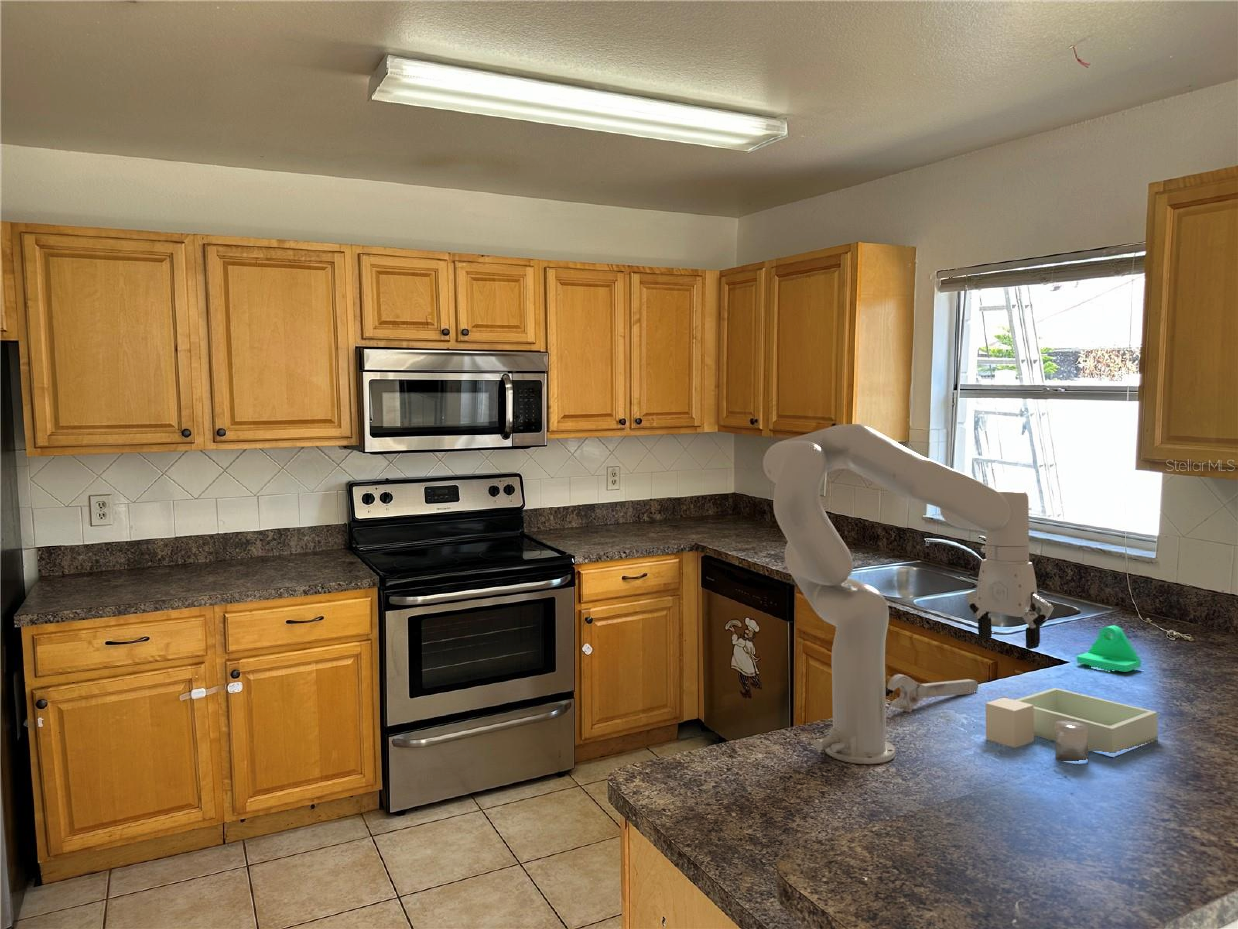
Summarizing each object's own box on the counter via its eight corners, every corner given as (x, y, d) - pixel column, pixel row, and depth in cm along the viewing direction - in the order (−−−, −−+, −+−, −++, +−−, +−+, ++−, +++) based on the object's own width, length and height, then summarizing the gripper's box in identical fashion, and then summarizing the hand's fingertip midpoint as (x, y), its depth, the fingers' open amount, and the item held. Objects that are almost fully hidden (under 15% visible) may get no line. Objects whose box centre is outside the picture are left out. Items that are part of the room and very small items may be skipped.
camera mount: (1075, 666, 213) (1074, 626, 212) (1090, 661, 217) (1090, 621, 217) (1126, 676, 203) (1125, 634, 203) (1140, 671, 207) (1140, 629, 207)
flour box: (1015, 748, 157) (1014, 711, 157) (986, 739, 163) (985, 703, 162) (1033, 741, 161) (1033, 705, 160) (1004, 733, 166) (1004, 697, 166)
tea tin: (1078, 766, 148) (1077, 732, 148) (1049, 757, 152) (1049, 724, 152) (1094, 760, 151) (1093, 726, 150) (1065, 751, 155) (1065, 719, 155)
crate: (1112, 758, 151) (1112, 728, 151) (1009, 728, 168) (1008, 701, 168) (1157, 739, 160) (1157, 712, 160) (1055, 713, 177) (1054, 687, 177)
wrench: (977, 705, 193) (892, 715, 176) (970, 703, 194) (885, 713, 178) (979, 669, 193) (894, 676, 176) (972, 668, 194) (887, 674, 178)
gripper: (955, 551, 167) (956, 638, 167) (1039, 560, 152) (1040, 655, 153) (978, 548, 171) (979, 632, 171) (1062, 556, 156) (1063, 649, 157)
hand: (1008, 643), depth 162 cm, fingers open, 9 cm apart
